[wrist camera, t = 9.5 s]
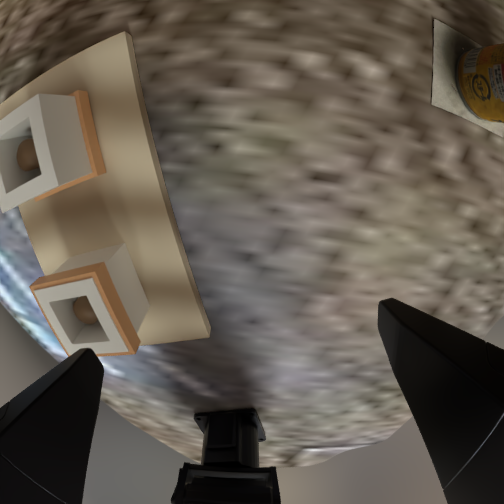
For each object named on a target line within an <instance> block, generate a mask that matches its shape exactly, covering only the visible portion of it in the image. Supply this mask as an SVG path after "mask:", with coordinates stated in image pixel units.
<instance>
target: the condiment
mask: <svg viewBox="0 0 504 504" xmlns="http://www.w3.org/2000/svg"><path fill="white" fill-rule="evenodd" d="M462 48H464V50H463V49H462ZM433 56H434V59H433V84H432V105H434V106H437V107H439V108H442V109H444V110H446V111H449V112H452V113H454V114H456V115H458V116H461V117H463V118H465V119H467V120H469V121H471V122H473V123H475V124H477V125H479V126H481V127H483V128H485V129H487V130H489V131H491V132H493V133H495V134H497V135H499V136H501V137H503V133H504V43H503V44H497V45H491V46H485V47H482V46H481V45H479V44H477V43H476V42H475V41H473V40H471V39H470V38H469V37H467V36H465V35H463V34H461V33H460V32H458V31H456V30H454V29H452V28H450V27H449V26H447V25H446V24H444V23H442V22H440V21H438V20H436V19H434V54H433ZM451 84H452V85H453V86H454V88H452V86H451ZM455 89H456V91H457V93H456V92H455Z"/></svg>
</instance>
